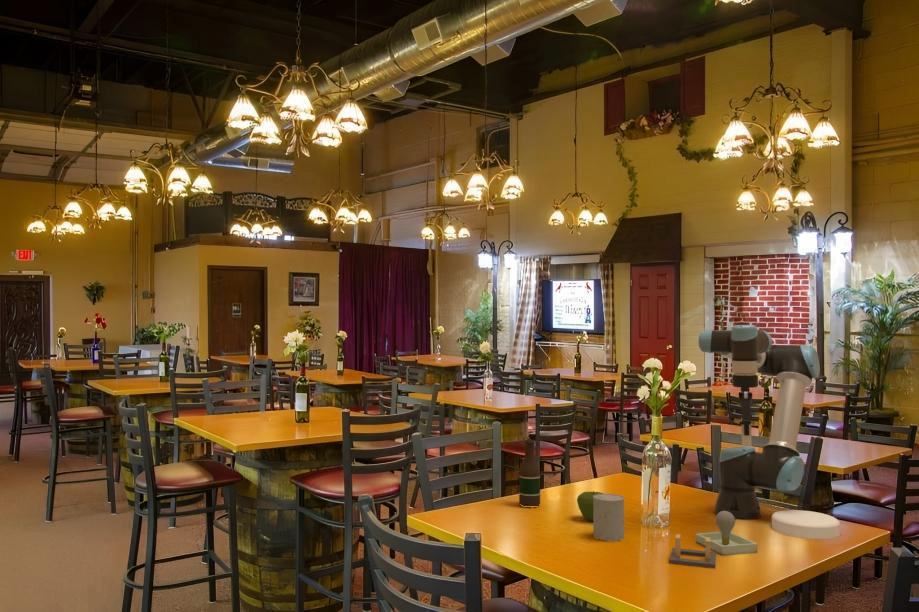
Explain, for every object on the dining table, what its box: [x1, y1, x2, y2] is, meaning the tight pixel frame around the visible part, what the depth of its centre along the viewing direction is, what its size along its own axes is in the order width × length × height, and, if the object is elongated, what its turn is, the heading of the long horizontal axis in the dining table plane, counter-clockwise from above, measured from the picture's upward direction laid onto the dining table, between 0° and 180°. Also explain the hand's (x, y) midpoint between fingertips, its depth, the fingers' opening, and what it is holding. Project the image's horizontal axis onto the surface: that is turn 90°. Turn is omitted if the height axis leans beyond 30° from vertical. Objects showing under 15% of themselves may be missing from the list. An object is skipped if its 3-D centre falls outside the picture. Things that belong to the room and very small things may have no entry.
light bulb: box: [715, 511, 736, 545], centre depth 217 cm, size 5×6×10 cm
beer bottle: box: [518, 438, 541, 507], centre depth 267 cm, size 8×8×24 cm
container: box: [771, 509, 841, 540], centre depth 235 cm, size 20×20×5 cm
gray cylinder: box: [592, 493, 625, 542], centre depth 227 cm, size 10×10×12 cm
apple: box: [576, 490, 605, 522], centre depth 247 cm, size 11×10×10 cm
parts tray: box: [695, 531, 759, 556], centre depth 217 cm, size 14×12×2 cm
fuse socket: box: [668, 533, 717, 569], centre depth 205 cm, size 12×12×6 cm
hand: (746, 442), depth 229 cm, fingers open, 13 cm apart
